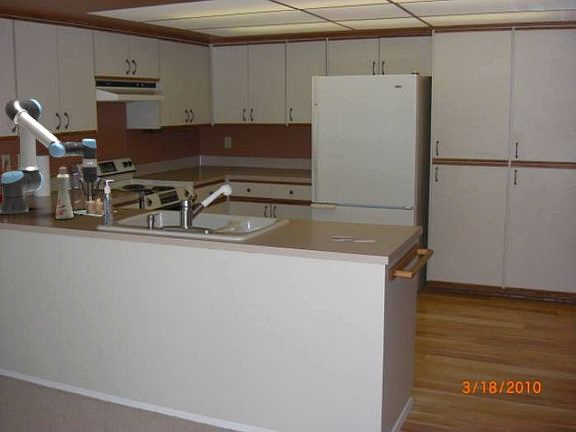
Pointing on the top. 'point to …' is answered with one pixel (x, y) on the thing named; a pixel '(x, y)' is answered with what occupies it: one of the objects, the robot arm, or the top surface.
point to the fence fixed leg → (94, 208)
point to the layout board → (85, 213)
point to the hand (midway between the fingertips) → (90, 207)
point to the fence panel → (96, 201)
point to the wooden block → (82, 198)
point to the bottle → (63, 196)
